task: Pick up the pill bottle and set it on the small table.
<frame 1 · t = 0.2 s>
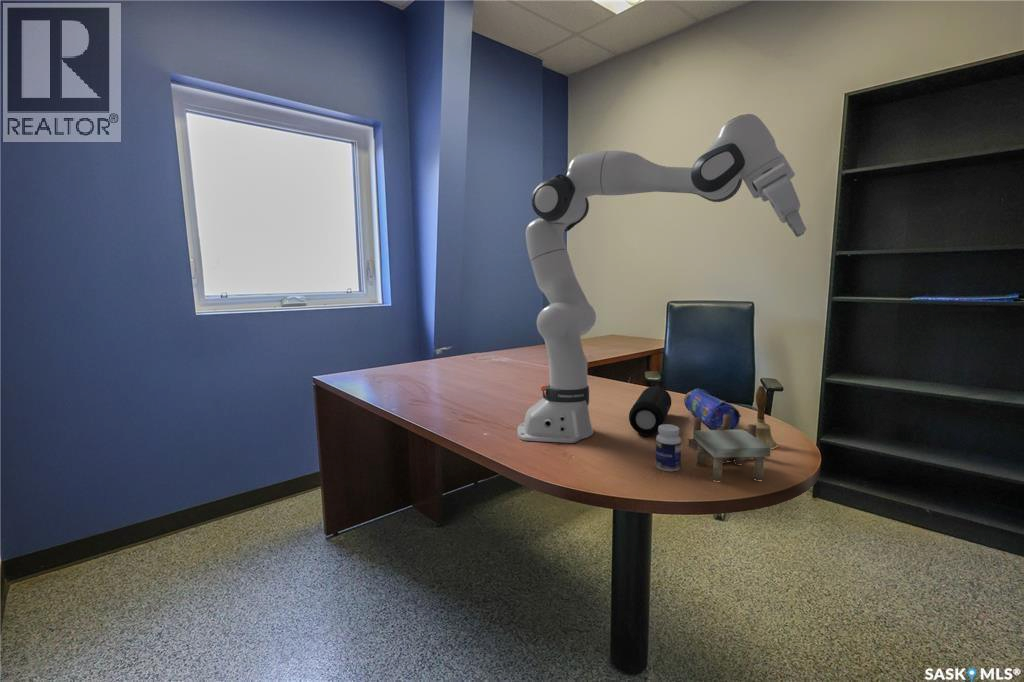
hand: (801, 234, 99), 54 cm above the table, tool tilted 30°, fingers open, 8 cm apart
portable speaker: (650, 425, 139), on the table
small table: (728, 471, 104), on the table
hand bell: (759, 445, 121), on the table
upturned stool: (722, 451, 116), on the table
pencil case: (709, 424, 139), on the table
pill bottle: (667, 468, 107), on the table
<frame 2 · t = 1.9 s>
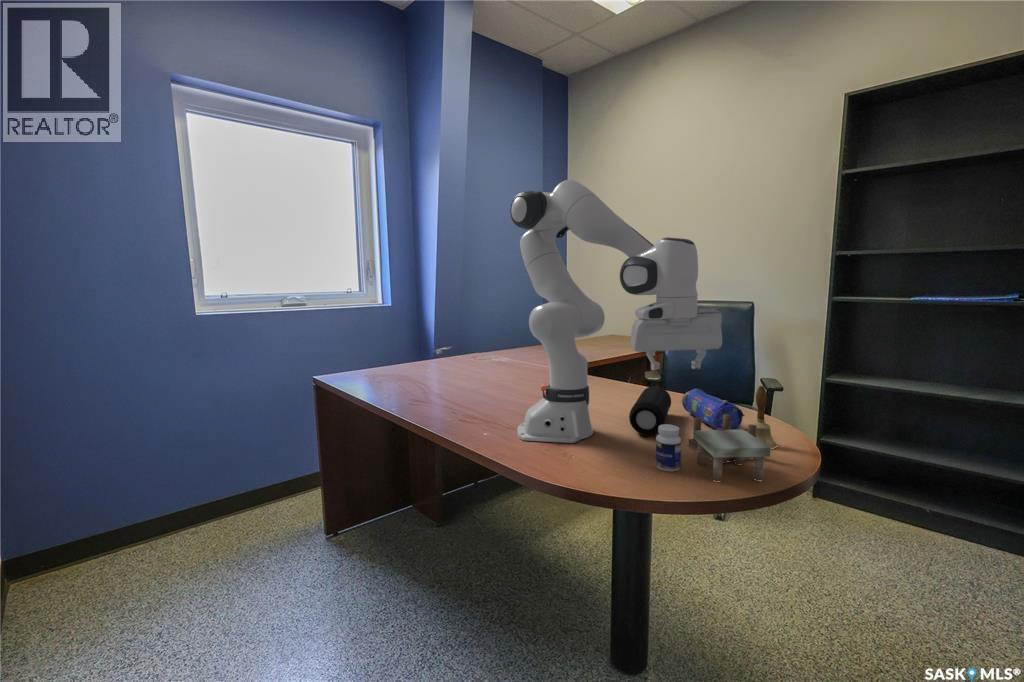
hand: (675, 369, 104), 24 cm above the table, tool pointing down, fingers open, 8 cm apart
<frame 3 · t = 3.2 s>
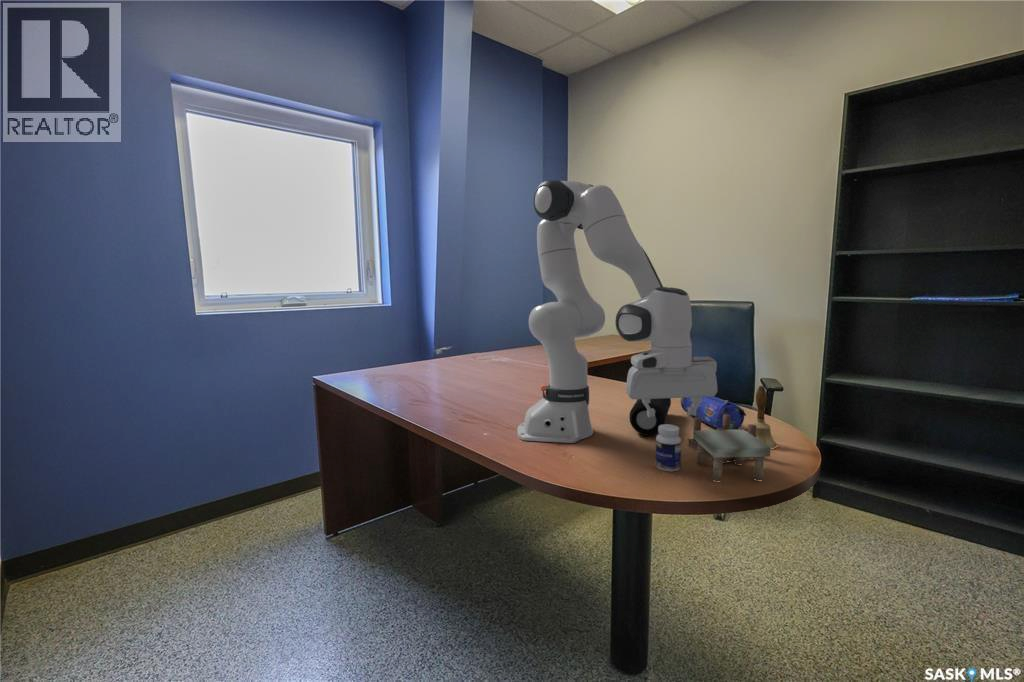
hand: (671, 416, 105), 13 cm above the table, tool pointing down, fingers open, 8 cm apart
nothing on the table moved.
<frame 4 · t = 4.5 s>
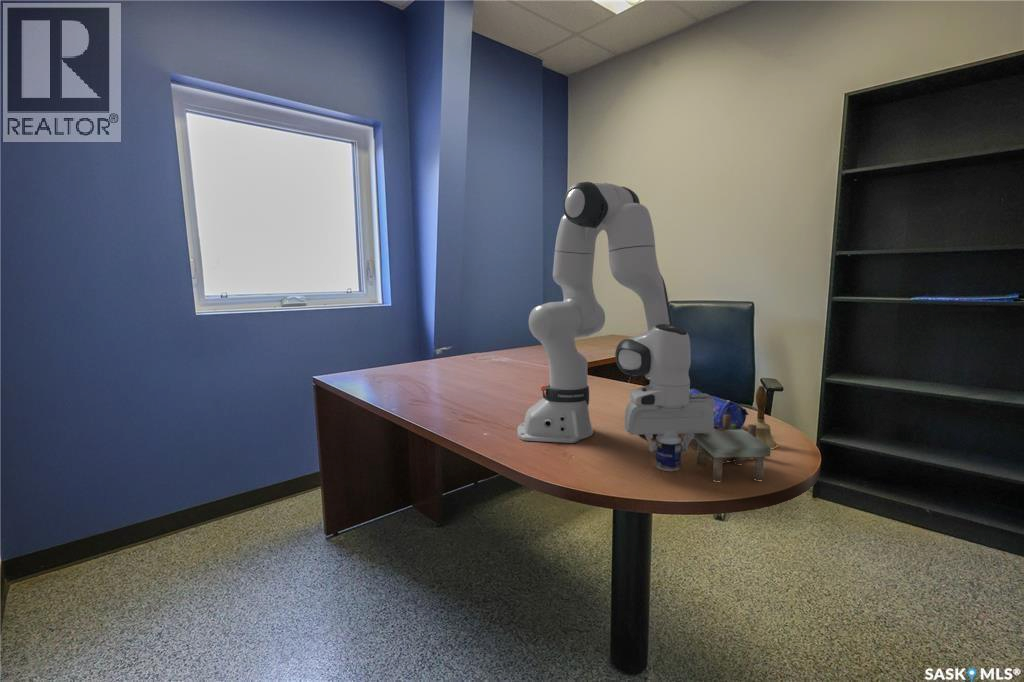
hand: (668, 450, 107), 4 cm above the table, tool pointing down, fingers closed on pill bottle, 6 cm apart
pill bottle: (667, 468, 107), on the table, touching gripper
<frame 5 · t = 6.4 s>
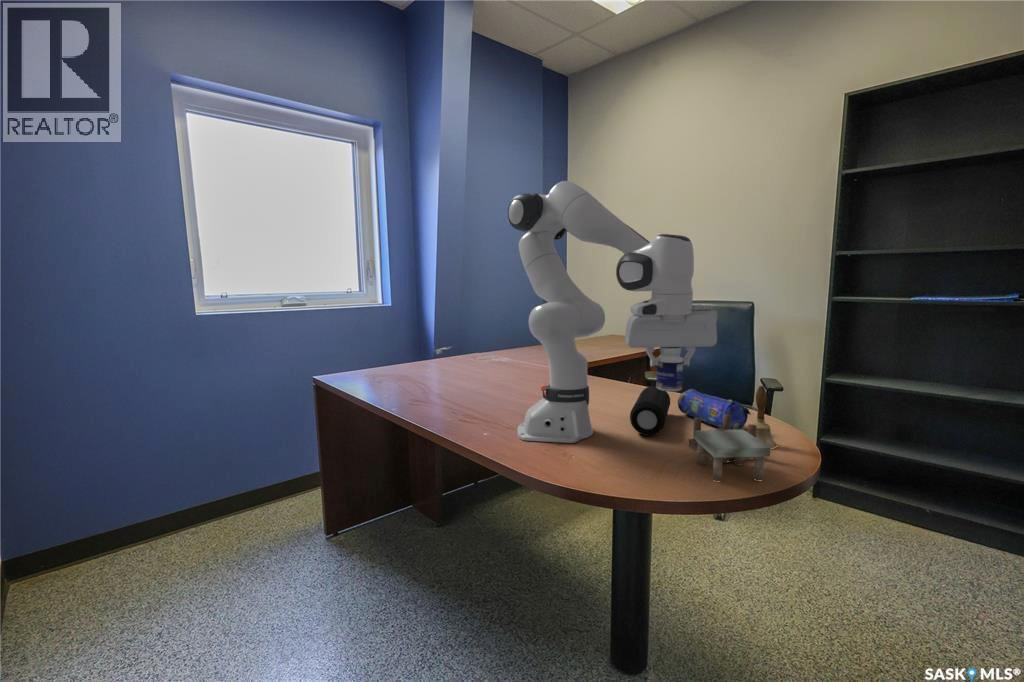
hand: (669, 365, 104), 25 cm above the table, tool pointing down, fingers closed on pill bottle, 6 cm apart
pill bottle: (669, 390, 105), point 19 cm above the table, touching gripper
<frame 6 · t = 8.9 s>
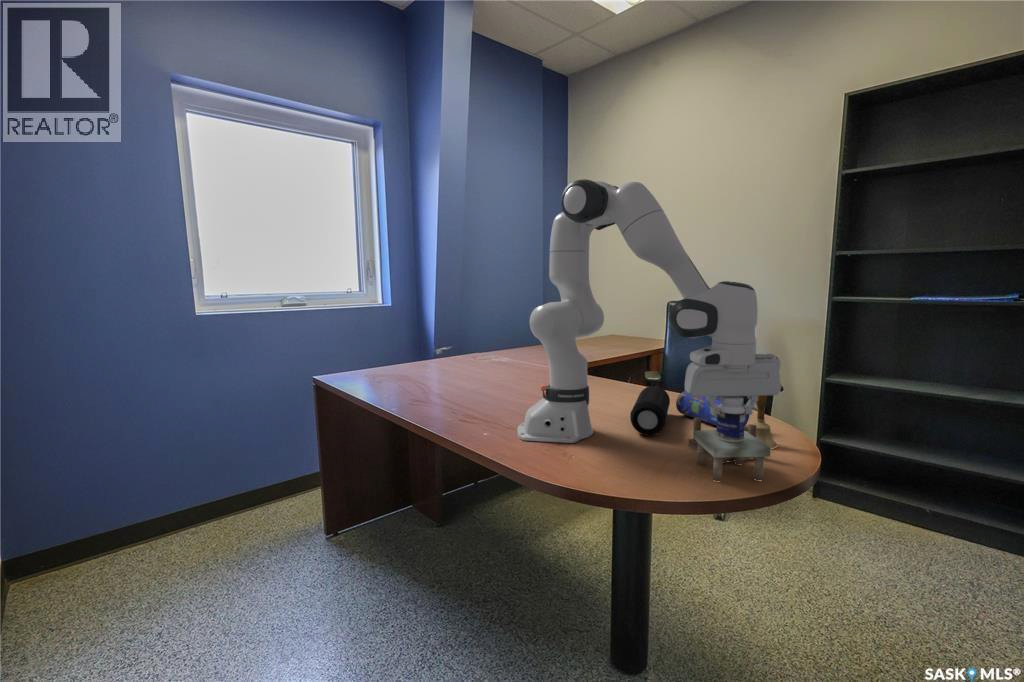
hand: (730, 414, 102), 14 cm above the table, tool pointing down, fingers closed on pill bottle, 6 cm apart
pill bottle: (729, 439, 103), point 8 cm above the table, touching gripper, small table
when the fingers open (14 cm above the table, at t = 9.0 s): pill bottle stays where it is, resting on small table.
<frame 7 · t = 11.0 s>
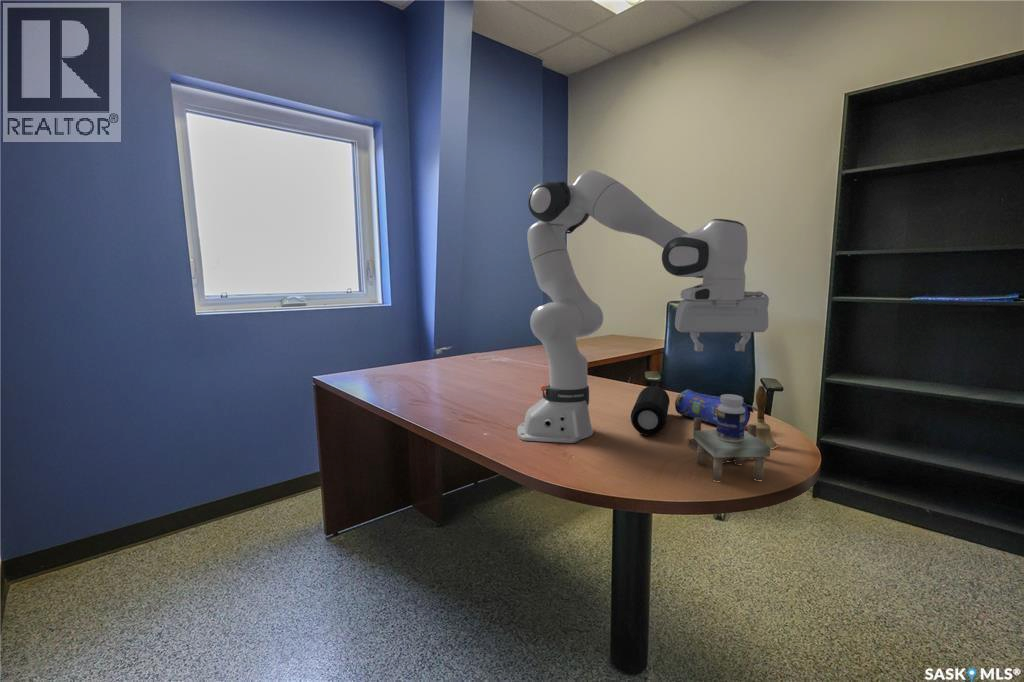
hand: (719, 351, 105), 28 cm above the table, tool pointing down, fingers open, 8 cm apart
pill bottle: (729, 439, 103), point 8 cm above the table, touching small table
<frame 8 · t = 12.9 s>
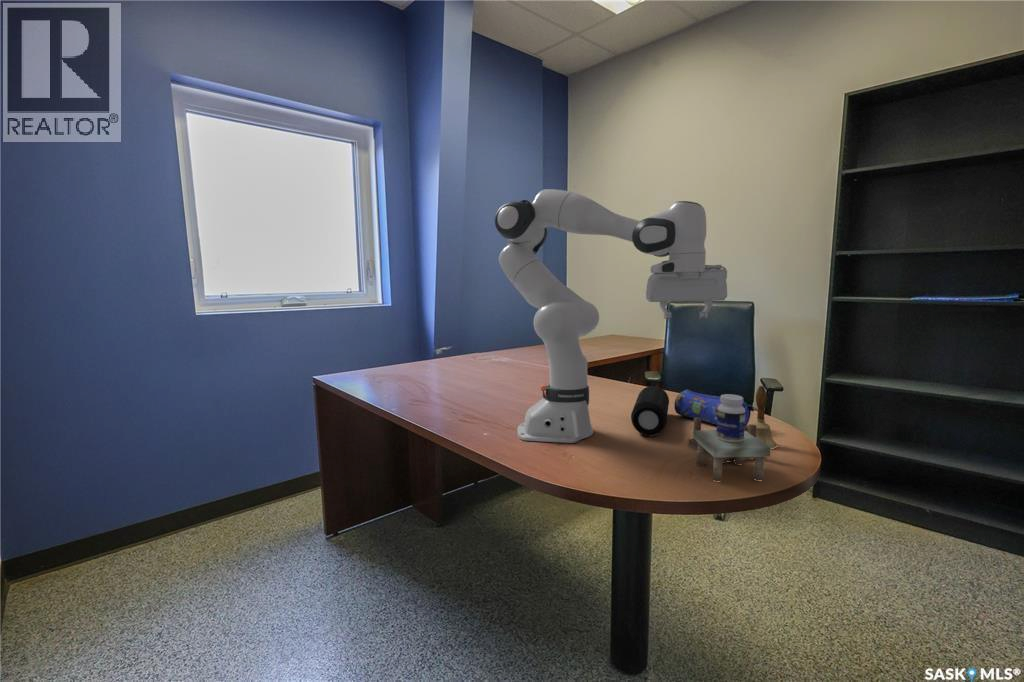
hand: (685, 318, 118), 34 cm above the table, tool pointing down, fingers open, 8 cm apart
at the end: pill bottle inside the target area on the small table (0.2 cm from its centre), point 7.8 cm above the small table's base; pill bottle tilted 0°; the gripper is holding nothing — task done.
